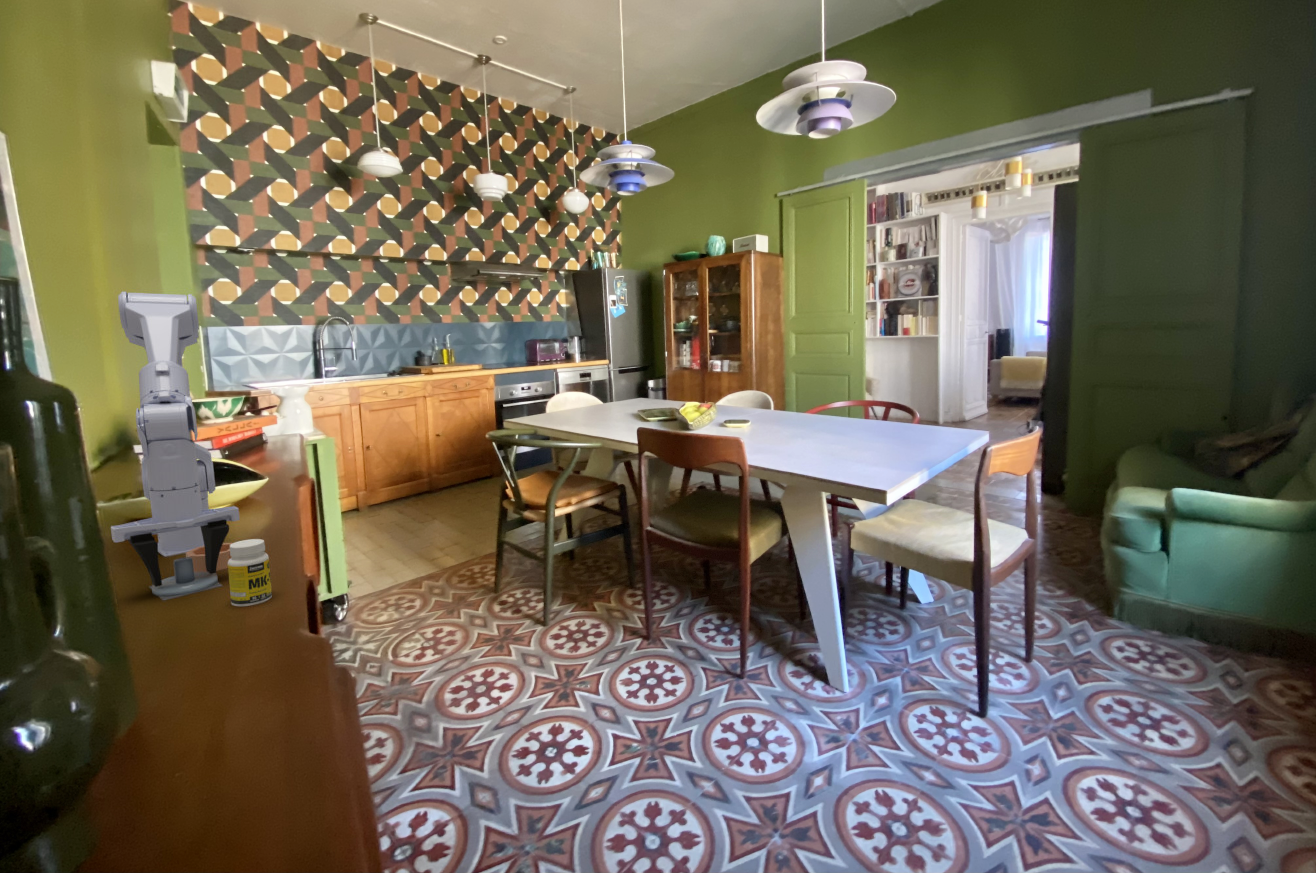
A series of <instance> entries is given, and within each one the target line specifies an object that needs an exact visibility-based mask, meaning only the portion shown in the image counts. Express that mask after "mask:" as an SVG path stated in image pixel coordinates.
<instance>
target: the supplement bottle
mask: <svg viewBox="0 0 1316 873" xmlns="http://www.w3.org/2000/svg"><path fill="white" fill-rule="evenodd" d="M232 543H233V544H231V545H230V556H232V558H230V559H229V561H228V569H227V572H228V581H229V582H228V583H229V594H230V595H229V596H230V603H231V605H232V606H235V607H249V606H255V605H258V604H261V603H265V602H266V601H269V600H270V599H271V598H272V596H273V593H272V578H271V567H270V557H269V554H268V553H267V552H265V551H266V545H265V540H264V539H260V538H252V539H244V540H239V541H235V542H232Z"/></svg>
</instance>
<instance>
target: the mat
mask: <svg viewBox="0 0 1316 873" xmlns="http://www.w3.org/2000/svg"><path fill="white" fill-rule="evenodd" d="M223 585H224V584H223ZM223 585H222V583H220V582H219V581H218V582H217V583H216V584H214V585H213V586H211V587H209V588H206V589H203V590H200V591H197V592H193V593H188V594H183V595H176V596H158V598H160V599H161V600H162V602H163V601H168V600H171V599H172V600H173V599H176V598H180V597H184V596H188V595H191V594H192V595H193V594H197V593H199V592H205V591H209V590H212V589H217V588H221V587H223ZM152 586H153V585H150V586H148V587H149V589H150V590H152Z"/></svg>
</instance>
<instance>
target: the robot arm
mask: <svg viewBox="0 0 1316 873" xmlns="http://www.w3.org/2000/svg"><path fill="white" fill-rule="evenodd" d="M117 299H118V311H119V312H118V313H119V318H120V324H121V328H122V329H123V331H124V335H125V337H126V338H127V339H128V341H129V343H131V344H133V345H136V346H139V347H142V348H144V350H145V353H146V357H147V358H146V359H147V362H148V363H147V364H146V365H144V366H142V367H141V368H140V370H139V372H138V384H139V386H138V388H139V390H138V391H139V406H140V407H137V408H136V409H135V423H136V432H137V436H138V437H137V438H138V440H139V442H140V445H141V452H142V458H141V481H142V489H143V495H144V498H146V499H147V500H148V501H149V502H150V510H151V517H149V518H145V519H140V520H137V521H136V520H135V521H131V522H127V523H124V524H123V523H122V524H118V525H111V526H110V532H111V539H112V541H113V542H114V543H121V542H125V541H126V540H127V542H128V543H129V544H130V546H131V547H132V548H133V549H134V551H135V552H136V553H137V554H138V556H139V557H140V559H141V561H142V562H143V563H144V566H145V568H146V569H147V571H148V574H149V577H150V580H151V584H152V586H153V585H154V586H155V587H157V586H161V585H162V580H163V579H162V574H161V570H160V564H159V554H160V555H161V556H163V557H164V558H165V557H166V558H167V557H173V556H176V555H180V554H186V552H188V551H190V550H192V549H194V548H198V547H201V546H204V547H205V564H206V570H207V572H209V573H210V574H213V573H216V574H217V571H216V568H217V561H218V557H219V553H220V550H221V547H222V544H223V543H225V540H226V538H227V536H228V534H229V532H230V524H228V522H237V521H240V511H239V510H240V509H239V507H237V506H235V505H232V506H227V507H217V508H210V506H209V495H210V494H213V493H214V492H215V491H216V479H215V471H214V462H213V459H212V453H211V452H210V450H209V449H208V448H206V447H205V446H202V445H200V444H197V443H196V442H197V440H198V424H197V415H196V408H195V406H194V404H193V400H192V396H191V391H190V381H189V373H188V372H187V370H186V369H185V367H184V366H183V356H184V352H185V350H186V348H187V347H189V346H190V347H191V346H192V345H196V344H197V343H198V339H199V338H200V336H199V334H200V333H199V330H200V324H199V316H198V306H197V297H196V296H194V295H193V294H192V293H188V294H171V293H170V294H169V293H152V292H151V293H146V292H128V291H121V293H120V294H118V297H117ZM190 432H192V433H193V434H194V441H193V439H191V433H190ZM154 535H157V540H158V541H156V540H155V536H154ZM158 553H159V554H158Z"/></svg>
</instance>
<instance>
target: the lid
mask: <svg viewBox="0 0 1316 873" xmlns="http://www.w3.org/2000/svg"><path fill="white" fill-rule="evenodd" d="M173 569H174V570H173V571H174V575H173V576H169V577H166V578H163V579H162V585H161V586H157V587H155V586H154V585H153V584H152V585H151V586H152V589H151V591H152V594H153V595H155V596H157V597H159V596H176V595H183V594H188V593H193V592H197V591H200V590H203V589H206V588H209V587H211V586H213V585H214V584H216V583H217V582H219V580H218V578H219V577H218V574H217V572H216V573H213V574H210V573H209V572H194V568H193V559H192V558H191V557H186V556H185V557H180V558H177V559H174V560H173ZM197 593H198V592H197ZM193 594H194V593H193Z"/></svg>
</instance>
